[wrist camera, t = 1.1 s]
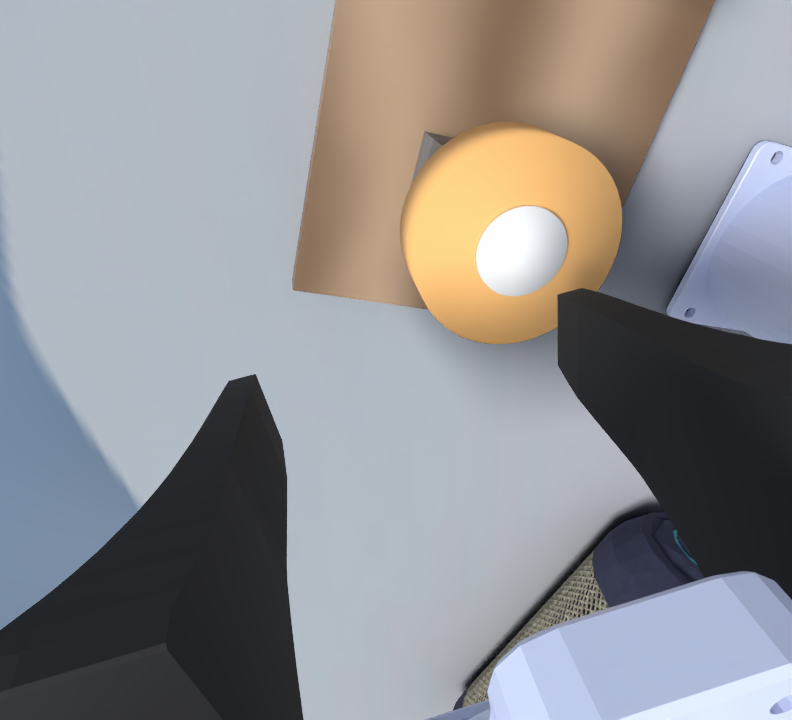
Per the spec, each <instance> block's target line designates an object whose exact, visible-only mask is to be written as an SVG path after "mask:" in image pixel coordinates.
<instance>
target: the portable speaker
mask: <svg viewBox="0 0 792 720" xmlns="http://www.w3.org/2000/svg"><path fill="white" fill-rule="evenodd" d="M701 579H704V576H703V574H702V573H701V571H700V569H699V568H698V566H697V564H696V562H695V561H694V559H693V557H692V555H691V554H690V552H689V550H688V548H687V547H686V545H685V544H684V542H683V540H682V539H681V537H680V535H679V534H678V532H677V531H676V529H675V527H674V526H673V524H672V522H671V521H670V519H669V518H668V516H667V514H666V513H665V512H657V513H649V514H646V515H643V516H640V517H637V518H634V519H630V520H627V521H624V522H623V523H621V524H620V525H618V526H617V527H616V528H614V529H613V530H611V531H610V532H609V533H608V534H607V535H606V536H605V538H604V539H603V540H602V541H601V542H600V543H599V544H598V546H597V547H596V548H595V549H594V550H593V552H592V553H591V554H590V555H589V556H588V557H587V558H586V559H585V560H584V561H583V563H582V564H581V565H580V566H579V567H578V568H577V569H576V570H575V571H574V572H573V574H572V575H571V576H570V577H569V578H568V579H567V580H566V581H565V582H564V583H563V584H562V585H561V587H560V588H559V589H558V590H557V591H556V592H555V593H554V594H553V595H552V597H550V599H549V600H548V601H547V602H546V603H545V604H544V605H543V606H542V607H541V608H540V610H539V611H538V612H537V613H536V614H535V615H534V616H533V617H532V618H531V619H530V620H529V622H528V623H527V624H526V625H525V626H524V627H523V628H522V629H521V630H520V631H519V632H518V634H517V635H516V636H515V637H514V638H513V639H512V640H511V641H510V642H509V643H508V644H507V646H506V647H505V648H504V649H503V650H502V651H501V652H500V653H499V654H498V655H497V656H496V658H495V659H494V660H493V661H492V662H491V663H490V664H489V665H488V666H487V667H486V669H485V670H484V671H483V672H482V673H481V674H480V675H479V676H478V677H477V678H476V680H474V681H473V682H472V683H471V684H470V685H469V686H468V688H467V689H466V690H465V692H464V693H463V694H462V695H461V697H460V698H459V699H458V701H457V702H456V704H455V706H454V709H453V711H454V710H457V709H460V708H463V707H466V706H470V705H473V704H476V703H479V702H482V701H485V700H488V699H489V697H488V691H487V690H488V687H489V684H490V681H491V677H492V674H493V671H494V668H495V666H496V664H497V662H498V661H499V660H500V659H501V658H502V657H503V656H504V655H505V654H507V653H508V652H509V651H510V650H511V649H512V648H513V647H514V646H515V645H517V644H518V643H519V642H520V641H521V640H523V639H525V638H527V637H530V636H532V635H534V634H536V633H538V632H540V631H542V630H545V629H547V628H549V627H551V626H553V625H556V624H559V623H562V622H566V621H569V620H572V619H575V618H578V617H582V616H585V615H588V614H591V613H595V612H598V611H601V610H604V609H607V608H611V607H614V606H617V605H620V604H624V603H627V602H630V601H633V600H636V599H640V598H643V597H646V596H649V595H653V594H656V593H659V592H662V591H665V590H669V589H672V588H675V587H678V586H682V585H685V584H688V583H691V582H694V581H698V580H701Z"/></svg>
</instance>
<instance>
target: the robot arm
mask: <svg viewBox="0 0 792 720" xmlns="http://www.w3.org/2000/svg"><path fill="white" fill-rule="evenodd" d="M774 153H776V155H775V157H774V159H773V160H772V161H771V158H772V156H773V154H774ZM557 301H558V366H559V368H560V369H561V371H562V373H563V375H564V376H565V378H566V380H567V381H568V383H569V385H570V386H571V388H572V390H573V391H574V393H575V394H576V396H577V398H578V399H579V400H580V401H581V403H582V404H583V405H584V406H585V408H586V409H587V410H588V411H589V412H590V414H591V415H592V416H593V417H594V419H595V420H596V421H597V422H598V423H599V425H600V426H601V427H602V428H603V429H604V431H605V432H606V433H607V434H608V435H609V437H610V438H611V439H612V440H613V442H614V443H615V444H616V445H617V446H618V448H619V449H620V450H621V451H622V452H623V454H624V455H625V456H626V457H627V458H628V460H629V461H630V462H631V463H632V464H633V466H634V467H635V468H636V470H637V471H638V472H639V474H640V475H641V476H642V478H643V479H644V481H645V482H646V484H647V485H648V487H649V488H650V490H651V491H652V493H653V494H654V496H655V497H656V499H657V500H658V502H659V504H660V505H661V507H662V508H663V510H664V511H665V513H666V514H667V516H668V518H669V519H670V521H671V522H672V524H673V526H674V527H675V529H676V531H677V532H678V534H679V535H680V537H681V539H682V540H683V542H684V544H685V545H686V547H687V548H688V550H689V552H690V554H691V555H692V557H693V559H694V561H695V562H696V564H697V566H698V568H699V569H700V571H701V573H702V574H703V576H704V579H701V580H698V581H694V582H691V583H688V584H685V585H682V586H678V587H675V588H672V589H669V590H665V591H662V592H659V593H656V594H653V595H649V596H646V597H643V598H640V599H636V600H633V601H630V602H627V603H624V604H620V605H617V606H614V607H611V608H607V609H604V610H601V611H598V612H595V613H591V614H588V615H585V616H582V617H578V618H575V619H572V620H569V621H566V622H562V623H559V624H556V625H553V626H551V627H549V628H547V629H545V630H542V631H540V632H538V633H536V634H534V635H532V636H530V637H527V638H525V639H523V640H521V641H520V642H519V643H518V644H517V645H515V646H514V647H513V648H512V649H511V650H510V651H509V652H508V653H507V654H505V655H504V656H503V657H502V658H501V659H500V660H499V661H498V662H497V664H496V666H495V668H494V671H493V674H492V677H491V681H490V684H489V687H488V690H487V691H488V697H489V699H488V700H485V701H482V702H479V703H476V704H473V705H470V706H466V707H463V708H460V709H457V710H454V711H451V712H448V713H444V714H441V715H438V716H435V717H432V718H429V719H426V720H792V147H789V146H786V145H782V144H779V143H775V142H771V141H761V142H759V143H758V144H757V145H755V146H754V148H753V149H752V150H751V152H750V154H749V156H748V158H747V160H746V162H745V163H744V165H743V167H742V169H741V171H740V173H739V175H738V176H737V178H736V180H735V182H734V184H733V186H732V188H731V190H730V191H729V193H728V195H727V197H726V199H725V201H724V203H723V204H722V206H721V208H720V210H719V212H718V214H717V216H716V217H715V219H714V221H713V223H712V225H711V227H710V229H709V231H708V232H707V234H706V236H705V238H704V240H703V242H702V244H701V245H700V247H699V249H698V251H697V253H696V255H695V257H694V259H693V260H692V262H691V264H690V266H689V268H688V270H687V272H686V273H685V275H684V277H683V279H682V281H681V283H680V285H679V287H678V288H677V290H676V292H675V294H674V296H673V298H672V300H671V301H670V303H669V305H668V307H667V310H666V311H667V315H668V316H667V315H664V314H661V313H658V312H655V311H652V310H649V309H646V308H643V307H640V306H637V305H634V304H631V303H628V302H625V301H623V300H620V299H617V298H614V297H611V296H608V295H605V294H602V293H599V292H596V291H592V290H588V289H584V288H580V289H576V290H572V291H569V292H565V293H561V294H557ZM689 308H690V309H689ZM688 309H689V311H688V312H687V313H685V312H686V311H687V310H688ZM697 324H701V325H707V326H713V327H720V328H726V329H733V330H739V331H745V332H747V333H748V334H750V335H751V336H753V337H754V338H752V337H748V336H743V335H738V334H733V333H728V332H724V331H720V330H716V329H712V328H708V327H705V326H701V325H697ZM0 720H303V714H302V706H301V698H300V691H299V683H298V676H297V668H296V659H295V651H294V642H293V633H292V625H291V615H290V605H289V595H288V585H287V474H286V466H285V458H284V451H283V444H282V439H281V437H280V434H279V432H278V429H277V427H276V424H275V422H274V419H273V417H272V414H271V412H270V409H269V407H268V404H267V402H266V399H265V397H264V394H263V392H262V389H261V387H260V384H259V382H258V379H257V377H256V374H254V375H250V376H246V377H243V378H239V379H235V380H231V381H229V382H228V383H227V385H226V387H225V388H224V390H223V391H222V393H221V395H220V396H219V398H218V400H217V402H216V403H215V405H214V407H213V408H212V410H211V412H210V413H209V415H208V417H207V418H206V420H205V422H204V423H203V425H202V427H201V428H200V430H199V431H198V433H197V435H196V436H195V438H194V439H193V441H192V443H191V444H190V445H189V447H188V448H187V450H186V451H185V453H184V454H183V455H182V457H181V458H180V460H179V461H178V463H177V464H176V465H175V467H174V468H173V470H172V471H171V472H170V474H169V475H168V476H167V478H166V479H165V480H164V481H163V483H162V484H161V485H160V486H159V488H158V489H157V490H156V491H155V492H154V494H153V495H152V496H151V497H150V498H149V499H148V500H147V502H146V503H145V504H144V505H143V506H142V507H141V509H140V510H139V511H138V512H137V513H136V514H135V515H134V516H133V517H132V518H131V519H130V520H129V521H128V522H127V523H126V524H125V525H124V526H123V527H122V528H121V529H120V530H119V531H118V532H117V533H116V534H115V535H114V536H113V537H112V538H111V539H110V540H109V541H108V542H107V543H106V544H105V545H104V546H103V547H102V548H101V549H100V550H99V551H98V552H97V553H96V554H95V555H93V556H92V557H91V558H90V559H89V560H88V561H87V562H86V563H84V564H83V565H82V566H81V567H80V568H79V569H78V570H77V571H75V572H74V573H73V574H72V575H71V576H69V577H68V578H67V579H66V580H65V581H63V582H62V583H61V584H60V585H59V586H58V587H56V588H55V589H54V590H53V591H51V592H50V593H49V594H48V595H46V596H45V597H44V598H43V599H41V600H40V601H39V602H37V603H36V604H35V605H33V606H32V607H31V608H29V609H28V610H27V611H25V612H24V613H23V614H21V615H20V616H19V617H17V618H16V619H15V620H13V621H12V622H11V623H9V624H8V625H7V626H5V627H4V628H3V629H1V630H0Z"/></svg>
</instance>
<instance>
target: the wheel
mask: <svg viewBox="0 0 792 720" xmlns="http://www.w3.org/2000/svg"><path fill="white" fill-rule="evenodd" d="M621 232H622V208H621V201H620V197H619V194H618V190H617V188H616V185H615V183H614V181H613V178H612V177H611V175H610V174H609V172H608V171H607V169H606V167H605V166H604V165H603V164H602V163H601V162H600V161H599V160H598V159H597V157H595V156H594V155H593V154H591V153H590V152H589V151H588V150H586V149H584V148H583V147H581V146H579V145H577V144H575V143H573V142H571V141H569V140H566V139H564V138H562V137H560V136H557V135H555V134H553V133H551V132H548V131H546V130H544V129H542V128H539V127H536V126H533V125H530V124H526V123H520V122H496V123H489V124H485V125H482V126H478V127H475V128H472V129H470V130H468V131H465V132H463V133H461V134H460V135H458V136H456V137H455V138H453V139H451V140H450V141H448V142H447V143H446V144H444V145H443V146H442V147H441V148H439V149H438V150H437V151H436V152H435V153H434V154H433V155H432V156H431V157H430V158H429V159H428V160H427V162H426V163H425V164H424V165H423V167H422V168H421V169H420V171H419V172H418V174H417V176H416V177H415V179H414V180H413V182H412V184H411V186H410V189H409V191H408V193H407V195H406V198H405V202H404V205H403V208H402V214H401V219H400V245H401V250H402V254H403V258H404V261H405V263H406V266H407V269H408V271H409V273H410V275H411V277H412V279H413V281H414V283H415V285H416V287H417V289H418V291H419V293H420V295H421V297H422V299H423V300H424V302H425V304H426V306H427V308H428V309H429V310H430V312H431V313H432V314H433V316H434V317H435V318H436V319H437V320H438V321H439V322H440V323H441V324H442V325H443V326H445V327H446V328H448V329H449V330H450V331H452V332H453V333H455V334H457V335H459V336H461V337H463V338H466V339H469V340H472V341H476V342H481V343H487V344H510V343H516V342H522V341H525V340H529V339H532V338H535V337H538V336H540V335H543V334H545V333H547V332H549V331H551V330H553V329H555V328H557V327H558V301H557V294H561V293H565V292H569V291H572V290H576V289H580V288H584V289H588V290H592V291H596V292H597V291H598V290H599V288H600V287H601V285H602V284H603V282H604V281H605V279H606V277H607V275H608V273H609V271H610V270H611V268H612V265H613V263H614V260H615V258H616V255H617V251H618V248H619V244H620V239H621Z"/></svg>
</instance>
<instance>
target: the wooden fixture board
mask: <svg viewBox="0 0 792 720" xmlns="http://www.w3.org/2000/svg"><path fill="white" fill-rule="evenodd" d="M714 1H715V0H336V2H335V8H334V14H333V21H332V27H331V34H330V40H329V47H328V53H327V59H326V66H325V72H324V79H323V85H322V92H321V98H320V105H319V111H318V117H317V124H316V130H315V137H314V143H313V150H312V156H311V162H310V169H309V175H308V182H307V188H306V195H305V201H304V207H303V214H302V220H301V227H300V233H299V240H298V246H297V253H296V259H295V265H294V272H293V278H292V283H293V290H296V291H303V292H310V293H317V294H324V295H331V296H338V297H345V298H352V299H359V300H366V301H374V302H381V303H388V304H395V305H402V306H409V307H416V308H423V309H428V308H427V306H426V304H425V302H424V300H423V299H422V297H421V295H420V293H419V291H418V289H417V287H416V285H415V283H414V281H413V279H412V277H411V275H410V273H409V271H408V269H407V266H406V263H405V261H404V258H403V254H402V250H401V245H400V219H401V214H402V208H403V205H404V202H405V198H406V195H407V193H408V191H409V189H410V186H411V184H412V182H413V180H414V179H415V177H416V176H417V174H418V172H419V171H420V169H421V168H422V167H423V165H424V164H425V163H426V162H427V160H428V159H429V158H430V157H431V156H432V155H433V154H434V153H435V152H436V151H437V150H438V149H439V148H441V147H442V146H443V145H444V144H446V143H447V142H448V141H450V140H451V139H453V138H455V137H456V136H458V135H460V134H461V133H463V132H465V131H468V130H470V129H472V128H475V127H478V126H482V125H485V124H489V123H496V122H520V123H526V124H530V125H533V126H536V127H539V128H542V129H544V130H546V131H548V132H551V133H553V134H555V135H557V136H560V137H562V138H564V139H566V140H569V141H571V142H573V143H575V144H577V145H579V146H581V147H583V148H584V149H586V150H588V151H589V152H590V153H591V154H593V155H594V156H595V157H597V159H598V160H599V161H600V162H601V163H602V164H603V165H604V166H605V167H606V169H607V171H608V172H609V174H610V175H611V177H612V178H613V181H614V183H615V185H616V188H617V190H618V194H619V197H620V201H621V208H623V205H624V203H625V201H626V199H627V196H628V194H629V192H630V190H631V187H632V185H633V183H634V181H635V178H636V176H637V174H638V172H639V169H640V167H641V165H642V163H643V160H644V158H645V156H646V154H647V152H648V149H649V147H650V145H651V143H652V140H653V138H654V136H655V134H656V131H657V129H658V127H659V125H660V122H661V120H662V118H663V116H664V113H665V111H666V109H667V107H668V104H669V102H670V100H671V98H672V96H673V93H674V91H675V89H676V87H677V84H678V82H679V80H680V78H681V75H682V73H683V71H684V69H685V66H686V64H687V62H688V60H689V57H690V55H691V53H692V51H693V48H694V46H695V44H696V42H697V39H698V37H699V35H700V33H701V31H702V28H703V26H704V24H705V22H706V19H707V17H708V15H709V13H710V10H711V8H712V6H713V4H714ZM557 328H558V327H557Z"/></svg>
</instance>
